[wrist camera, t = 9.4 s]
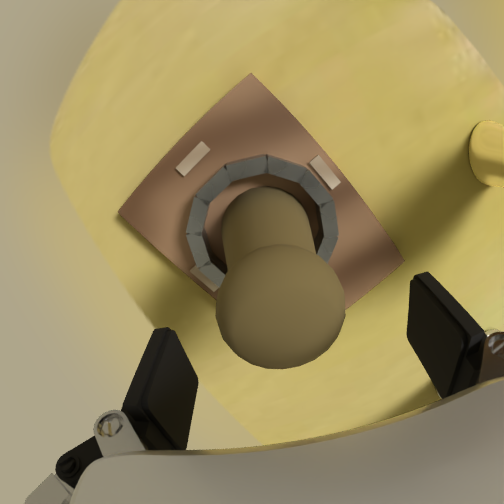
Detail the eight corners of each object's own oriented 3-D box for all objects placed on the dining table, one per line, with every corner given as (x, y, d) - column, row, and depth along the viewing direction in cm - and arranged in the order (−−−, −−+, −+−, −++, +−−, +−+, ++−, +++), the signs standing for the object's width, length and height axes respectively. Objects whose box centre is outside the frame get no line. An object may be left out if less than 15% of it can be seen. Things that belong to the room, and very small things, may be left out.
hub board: (398, 254, 23) (406, 262, 21) (282, 344, 26) (284, 355, 25) (250, 75, 17) (251, 72, 16) (123, 207, 20) (116, 213, 19)
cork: (292, 277, 22) (326, 395, 12) (212, 257, 21) (188, 376, 11) (321, 200, 19) (394, 282, 9) (233, 175, 19) (221, 239, 9)
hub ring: (356, 229, 20) (363, 237, 19) (258, 309, 23) (259, 321, 22) (266, 125, 17) (268, 125, 16) (163, 225, 20) (158, 233, 18)
